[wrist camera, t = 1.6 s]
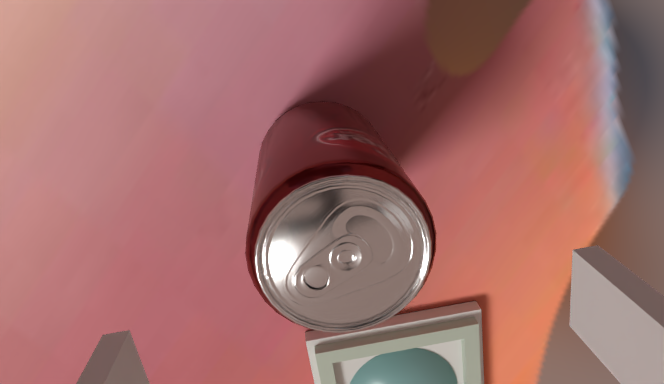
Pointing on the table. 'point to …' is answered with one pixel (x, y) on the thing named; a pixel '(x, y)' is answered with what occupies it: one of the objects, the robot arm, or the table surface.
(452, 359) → the base plate
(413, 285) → the soda can
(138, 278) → the table surface
